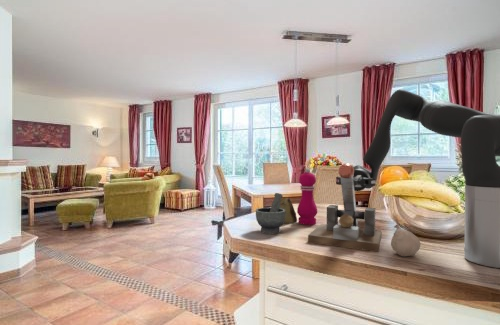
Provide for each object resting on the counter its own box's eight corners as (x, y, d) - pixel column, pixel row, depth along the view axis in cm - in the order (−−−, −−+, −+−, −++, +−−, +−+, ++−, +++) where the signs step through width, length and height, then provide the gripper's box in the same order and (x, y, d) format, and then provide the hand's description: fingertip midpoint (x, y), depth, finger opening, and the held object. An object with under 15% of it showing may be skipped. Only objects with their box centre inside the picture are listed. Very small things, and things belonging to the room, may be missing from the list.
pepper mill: (320, 222, 106) (320, 168, 106) (313, 226, 100) (313, 168, 100) (301, 220, 110) (302, 167, 110) (294, 223, 104) (294, 168, 104)
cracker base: (381, 236, 87) (381, 206, 87) (378, 252, 72) (378, 216, 72) (321, 229, 95) (321, 202, 95) (307, 242, 80) (307, 210, 80)
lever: (365, 221, 87) (361, 160, 75) (363, 240, 82) (358, 178, 70) (339, 218, 91) (332, 160, 79) (336, 237, 85) (327, 177, 73)
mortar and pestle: (274, 237, 86) (274, 196, 86) (249, 232, 92) (249, 194, 92) (292, 229, 95) (292, 193, 95) (268, 225, 101) (269, 191, 101)
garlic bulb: (386, 250, 74) (386, 219, 73) (412, 251, 73) (413, 220, 73) (396, 259, 67) (397, 225, 67) (426, 260, 66) (426, 226, 66)
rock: (261, 216, 106) (283, 216, 100) (267, 197, 110) (288, 196, 104) (275, 229, 112) (297, 230, 106) (280, 211, 116) (301, 210, 110)
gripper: (339, 168, 106) (329, 170, 90) (378, 169, 100) (375, 171, 84) (338, 189, 106) (329, 194, 90) (378, 191, 100) (375, 197, 84)
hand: (351, 183), depth 87 cm, fingers closed
